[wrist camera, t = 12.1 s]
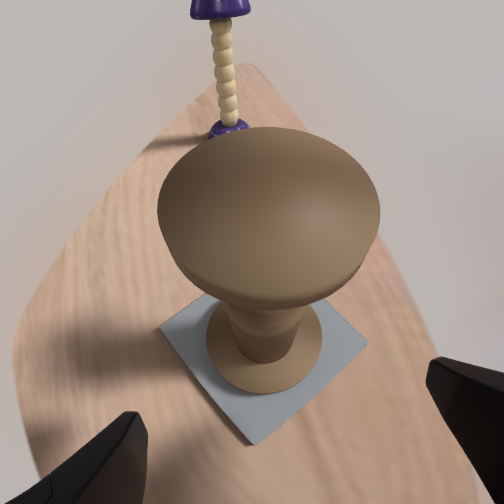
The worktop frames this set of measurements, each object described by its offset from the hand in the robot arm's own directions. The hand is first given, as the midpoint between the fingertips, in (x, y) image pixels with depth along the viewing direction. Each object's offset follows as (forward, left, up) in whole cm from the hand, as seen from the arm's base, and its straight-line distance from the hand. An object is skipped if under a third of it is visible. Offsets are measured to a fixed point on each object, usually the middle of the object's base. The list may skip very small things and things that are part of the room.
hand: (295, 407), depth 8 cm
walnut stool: (+4, -2, -8) cm, 9 cm away
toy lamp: (+21, -13, -9) cm, 26 cm away
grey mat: (+4, -2, -9) cm, 10 cm away
